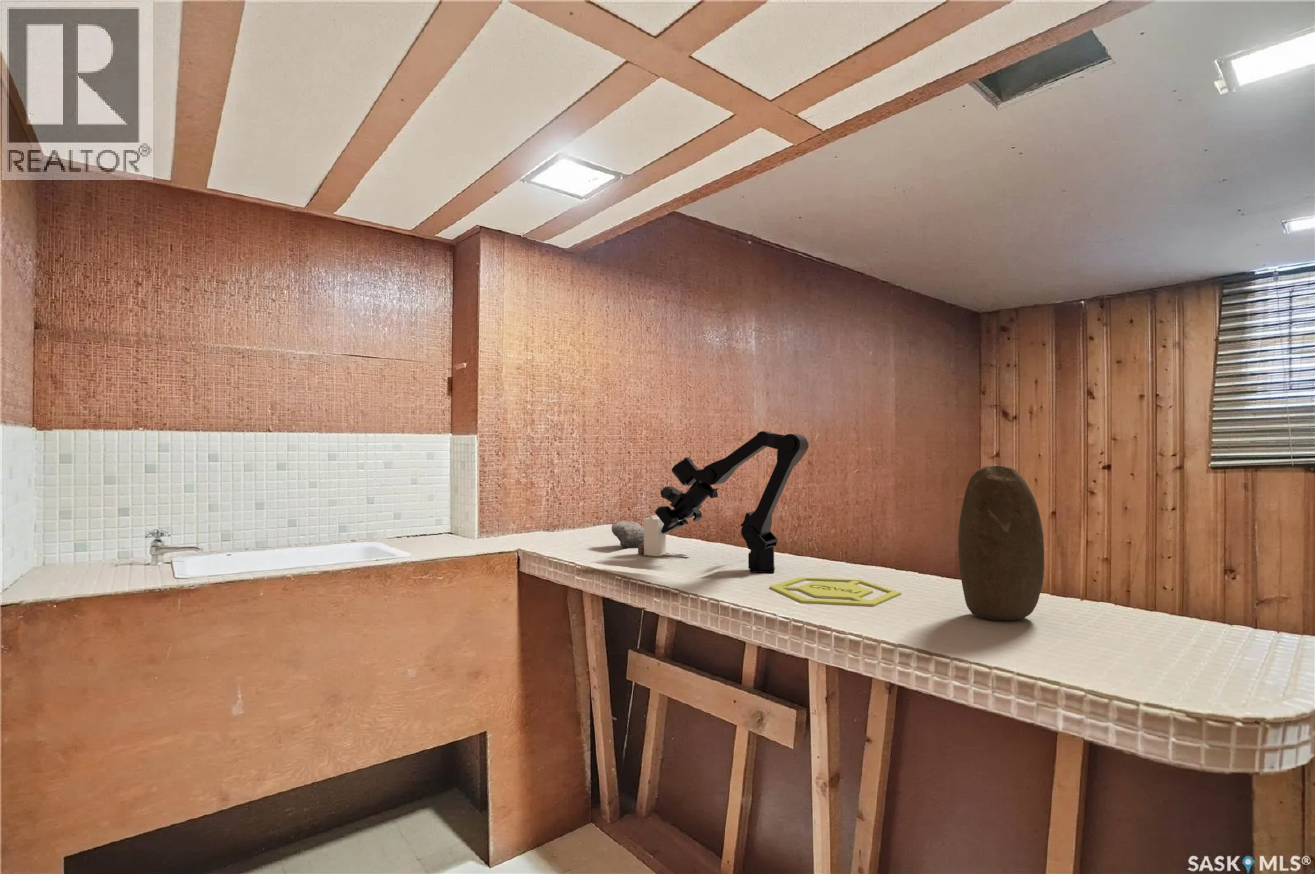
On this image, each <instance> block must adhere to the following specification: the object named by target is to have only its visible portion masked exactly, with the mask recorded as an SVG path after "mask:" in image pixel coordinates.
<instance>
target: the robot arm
mask: <svg viewBox="0 0 1315 874" xmlns="http://www.w3.org/2000/svg"><path fill="white" fill-rule="evenodd" d="M809 446H810V445H809V442H808V439H807V438H806V436H804V435H802V434H799V433H798V434H797V433H787V434H785V435H784V434H780V433H773V432H772V431H767V430H762V431H759V432H757V434H755V436H753V437H752V438H751V439H749V440H747V442H745V443H744V444H742V445H741V446H739V447H738V448H737V449H735V450H734V451H733V452H731V453H730V454H728V455H727V456H725V457H723V458H722V459H721V458H720V459H718V460H716V461H713V462H711V463H709V464H707V465H706V466H704V467H703V468H698V466H697V465H696V464H695V462H694V461H693V459H692V458H691V457H685V458H684V459H682V460H680V461H679V462H677V463H675V464H674V465H673V467H672V468H671V473H672V475H674V476H675V478H676V479H677V480H678V481H679V482H680V483H681V485H682V486H683V487H685V486H687V487H689V488H688V489H687V490H686V492H684V491H681V490H679V489H677V488H676V487H674V486H671V485H670V486H664V487H663V488H662V489H661V490H660V491H659V492H660V497H661V498H662V499H665V500H667V501H668V502H670V506H671V507H672V508H671V507H670V506H668V505H662V506H658V507H657V508H656V509H655V510H654V514H655V515H657V516H658V517H659V518H660V520H661V521H662V522H663V523H664V525H663V528H662V530H661V532H662V533H663V534H665V533H666V534H667V533H670V532H671V531H674V530H676V529H678V528H681V527H684V526H686V525H688V524H689V522H688V519H691V518H693V519H692V521H693V522H695V523H696V522H699V521H700V520H701V519H702V517H703V512H702V511H701V510H700V509H701V508H703V506H702V504H703V503H704V502H705V501H706V500H707V499H708V497H709V498H710V499H717V498H718V497H719V496H718V495H719V493H718V488H714V487H713V486H714V485H722V484H724V483H726V482H727V481H728V479H730V478H731V477H732V475H733V474H734V473H735V471H736V470H737V469H738V468H739V467H740V466H741V465H743V464H744V463H746V462H748V461H749V460H750V459H751V458H753V457H754V456H756V455H757V454H759V453H760V452H761V451H763V450H765V449H766V448H767V447H768V448H772V449H775V450H777V451H776V464H775V466H774V468H773V471H772V473H771V475H770V477H769V480H768V482H767V484H766V486H765V489H764V490H763V493H762V495H761V497H760V500H759V502H758V505H757V507H756V509H755V510H753V511H750V512H746V513H745V516H744V519H743V521H742V523H741V524H740V526H739V527H741V531H740V534H741V536H742V538H743V540H744V541H745V544H746V546H747V549H748V550H750V551H749V552H748V555H747V558H748V559H747V560H748V561H747V562H748V564H747V566H748V569H749V572H750V573H768V574H770V573H773V574H774V573H775V569H776V567H775V547H777V545H778V541H779V539H778V538H777V537H776V535H775V534H773V532H772V531H771V528H772V524H773V513H774V511H775V509H776V506H777V504H778V502H779V501H780V500H779V499H780V497H781V495H782V493H783V491H784V488H785V487H786V484H787V482H788V480H789V478H790V475H791V472H792V470H793V469H794V468H795V467H796V466H797V465H798V463H799V462H800V461H801V460H802V458H804V455H805V454H806V453H807V451H808V450H809Z"/></svg>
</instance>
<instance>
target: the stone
mask: <svg viewBox="0 0 1315 874" xmlns="http://www.w3.org/2000/svg"><path fill="white" fill-rule="evenodd" d="M1027 483H1028V482H1026V480H1025V479H1024V478H1023V477H1022V476H1021V475H1020V473H1019V472H1018V471H1017V470H1016V469H1015V468H1013V467H1010V466H1003V465H989V466H984V467H981V468H978V469H977V470H976V471H975V472H974V473H973V474H972V476H971V477H970V479H969V480H968V484H967V486H966V489H965V491H964V492H965V493H964V496H963V501H962V505H961V509H960V510H961V511H960V516H959V524H958V536H957V537H958V538H957V541H958V542H957V543H958V544H957V546H958V549H957V552H958V567H959V574H960V580H961V586H962V591H963V592H962V593H963V596H964V600H965V601H964V602H965V605H966V606H967V608H968V610H969V611H970V613H971V614H972V615H974V616H976V617H978V618H981V619H985V620H991V621H1016V620H1023V619H1025V618H1027V617H1028V616H1030V615H1031V614H1032V613H1033V612H1034V610H1035V609H1036V606H1037V605H1038V602H1039V599H1040V596H1041V591H1042V589H1043V588H1042V587H1043V583H1044V575H1045V543H1044V531H1043V530H1044V529H1043V525H1042V520H1041V515H1040V512H1039V511H1040V510H1039V507H1038V504H1037V502H1036V499H1035V497H1034V494H1033V491H1032V490H1031V488H1030V487H1029V485H1028V484H1027Z"/></svg>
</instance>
